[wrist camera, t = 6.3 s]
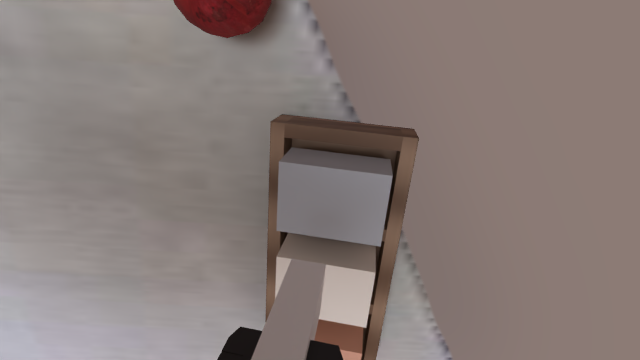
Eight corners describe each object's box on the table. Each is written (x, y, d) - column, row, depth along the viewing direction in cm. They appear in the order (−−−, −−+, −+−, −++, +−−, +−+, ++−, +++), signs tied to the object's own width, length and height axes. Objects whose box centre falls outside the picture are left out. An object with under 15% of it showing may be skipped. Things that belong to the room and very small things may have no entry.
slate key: (291, 147, 23) (278, 161, 20) (390, 159, 22) (392, 176, 19) (288, 208, 25) (276, 230, 22) (379, 222, 24) (380, 246, 21)
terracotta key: (283, 305, 28) (272, 336, 25) (363, 320, 27) (362, 353, 24) (281, 347, 30) (270, 381, 27) (356, 362, 29) (354, 398, 26)
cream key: (288, 232, 26) (276, 256, 23) (375, 246, 25) (375, 272, 22) (285, 282, 27) (274, 311, 24) (367, 296, 27) (366, 327, 24)
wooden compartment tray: (282, 114, 25) (270, 121, 23) (413, 128, 24) (418, 138, 21) (273, 330, 33) (264, 355, 31) (372, 349, 32) (372, 377, 29)
